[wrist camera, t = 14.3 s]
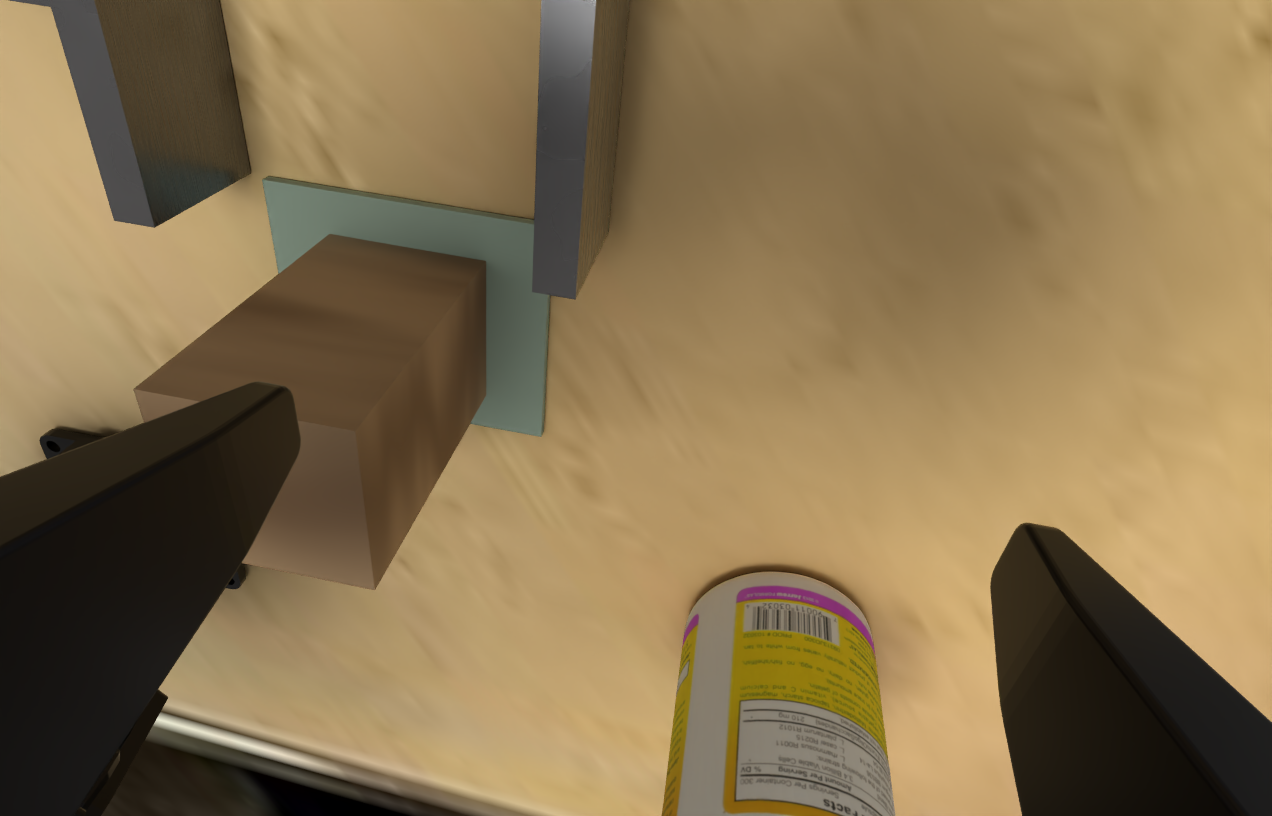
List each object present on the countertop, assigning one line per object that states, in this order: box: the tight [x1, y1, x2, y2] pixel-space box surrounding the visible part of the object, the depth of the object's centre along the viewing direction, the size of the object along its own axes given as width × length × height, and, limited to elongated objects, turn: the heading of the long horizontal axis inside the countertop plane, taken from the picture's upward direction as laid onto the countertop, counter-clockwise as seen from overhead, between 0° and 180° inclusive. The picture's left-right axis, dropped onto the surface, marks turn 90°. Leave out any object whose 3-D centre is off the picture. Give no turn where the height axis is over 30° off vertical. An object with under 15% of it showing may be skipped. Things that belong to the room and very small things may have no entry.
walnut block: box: [134, 234, 486, 590], centre depth 20 cm, size 4×4×8 cm
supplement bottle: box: [662, 572, 895, 816], centre depth 23 cm, size 7×7×13 cm
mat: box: [262, 176, 550, 437], centre depth 23 cm, size 7×8×1 cm
